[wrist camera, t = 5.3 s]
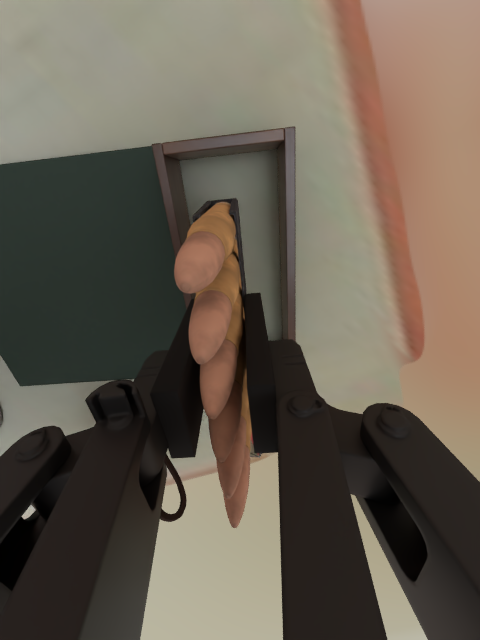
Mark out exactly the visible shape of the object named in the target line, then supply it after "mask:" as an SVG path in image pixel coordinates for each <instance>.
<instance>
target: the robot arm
mask: <svg viewBox="0 0 480 640" xmlns="http://www.w3.org/2000/svg"><path fill="white" fill-rule="evenodd" d="M194 300H195V299H191V301H190V303H189V306H188V308H187V310H186V312H185V315H184V317H183V319H182V321H181V324H180V326H179V328H178V330H177V333H176V335H175V337H174V339H173V342H172V344H171V346H170V349H169V350H160V351H155V352H153V353H152V354H151V355H150V356H149V357H148V358H147V359H146V360H145V362H144V363H143V365H142V367H141V370H140V371H139V373H138V374H137V377H136V378H135V380H134V382H132V381H130V380H116V381H112V382H109V383H107V384H105V385H102V386H100V387H99V388H97V389H96V390H95V391H93V392H92V393H91V394H90V395H89V396H88V397H87V398H86V400H85V401H86V403H87V405H88V407H89V409H90V411H91V413H92V415H93V417H94V419H95V421H96V424H95V426H94V427H92V428H90V429H87V430H84V431H81V432H77V433H74V434H71V435H68V436H65V435H64V433H63V432H62V430H61V428H59V427H56V426H48V427H43V428H40V429H37V430H34V431H32V432H30V433H29V434H27V435H25V436H23V437H22V438H21V439H19V440H18V441H17V442H16V443H14V444H13V445H12V446H11V447H10V448H9V449H8V450H7V451H6V452H5V453H4V454H3V455H2V456H1V457H0V640H140V636H141V630H142V624H143V618H144V611H145V605H146V599H147V593H148V587H149V581H150V574H151V568H152V563H153V556H154V550H155V544H156V538H157V532H158V526H159V519H160V514H161V507H162V501H163V494H164V489H165V483H166V477H167V467H166V465H165V462H164V459H165V456H166V452H167V449H169V452H170V455H171V458H187V457H195V455H196V449H197V443H198V438H199V432H200V426H201V420H202V414H203V409H204V407H203V403H202V398H201V392H200V365H201V364H198V363H197V362H196V361H195V360H194V358H193V356H192V353H191V349H190V344H189V323H190V317H191V312H192V309H193V305H194ZM245 328H246V372H247V393H248V401H249V410H250V419H251V428H252V437H253V446H254V454H256V453H273V452H278V467H279V502H280V503H279V504H280V537H281V539H280V540H281V575H282V613H283V640H387V637H386V632H385V629H384V625H383V621H382V617H381V613H380V609H379V605H378V601H377V597H376V593H375V589H374V585H373V581H372V577H371V573H370V570H369V566H368V562H367V558H366V554H365V550H364V546H363V542H362V539H361V534H360V531H359V527H358V522H357V519H356V515H355V511H354V507H353V503H352V499H351V495H350V494H352V495H355V496H356V498H357V500H358V502H359V504H360V506H361V508H362V510H363V512H364V514H365V516H366V518H367V520H368V522H369V524H370V526H371V528H372V530H373V532H374V534H375V535H376V538H377V540H378V541H379V544H380V546H381V547H382V550H383V551H384V553H385V555H386V557H387V559H388V561H389V563H390V565H391V567H392V569H393V571H394V573H395V575H396V577H397V579H398V581H399V583H400V585H401V587H402V589H403V591H404V593H405V595H406V597H407V599H408V601H409V603H410V605H411V607H412V609H413V611H414V613H415V615H416V617H417V618H418V621H419V623H420V625H421V626H422V629H423V630H424V632H425V635H426V637H427V639H428V640H480V482H479V481H478V480H477V479H476V478H475V477H474V476H473V475H472V474H471V473H470V472H469V470H467V468H466V467H465V466H464V465H463V464H462V463H461V462H460V461H459V460H458V459H457V458H456V457H455V456H454V455H453V454H452V453H451V452H450V450H449V449H448V448H447V447H446V446H445V445H444V444H443V443H442V442H441V441H440V440H439V439H438V438H437V437H436V436H435V435H434V434H433V433H432V432H431V431H430V430H429V428H427V426H426V425H425V424H424V423H423V422H422V421H421V420H420V419H419V418H418V417H416V416H415V415H414V414H413V413H411V412H410V411H408V410H406V409H404V408H402V407H400V406H397V405H393V404H388V403H376V404H374V405H371V406H368V407H367V409H366V410H365V411H364V412H363V414H358V413H352V412H347V411H343V410H339V409H336V408H334V407H332V406H330V405H328V404H327V403H326V402H325V400H324V399H323V398H322V397H320V396H319V395H318V393H317V391H316V389H315V386H314V383H313V380H312V378H311V375H310V372H309V369H308V366H307V364H306V361H305V358H304V356H303V352H302V350H301V347H300V345H298V344H297V343H296V342H295V341H294V340H293V339H288V340H275V341H268V336H267V330H266V324H265V318H264V312H263V306H262V300H261V294H260V293H251V294H245ZM1 422H2V415H1V410H0V426H1ZM30 505H32V506H33V507H34V508H35V509H36V511H35V512H34V513H33V514H32V515H31V516H30V517H29V518H27V519H25V520H24V519H23V518H22V517H21V516H22V515H23V514H24V512H25V511H26V510H27V509H28V507H29V506H30Z"/></svg>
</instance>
